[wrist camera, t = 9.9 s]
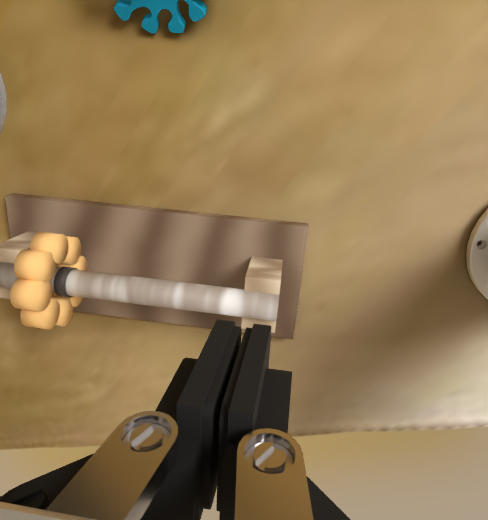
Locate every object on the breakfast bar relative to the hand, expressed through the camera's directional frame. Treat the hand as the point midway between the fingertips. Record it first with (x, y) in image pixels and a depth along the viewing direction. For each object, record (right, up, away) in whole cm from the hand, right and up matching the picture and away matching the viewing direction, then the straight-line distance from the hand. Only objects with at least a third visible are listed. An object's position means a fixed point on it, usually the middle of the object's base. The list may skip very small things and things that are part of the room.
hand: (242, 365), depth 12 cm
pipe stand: (-9, +3, +29) cm, 31 cm away
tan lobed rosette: (-17, +3, +28) cm, 33 cm away
